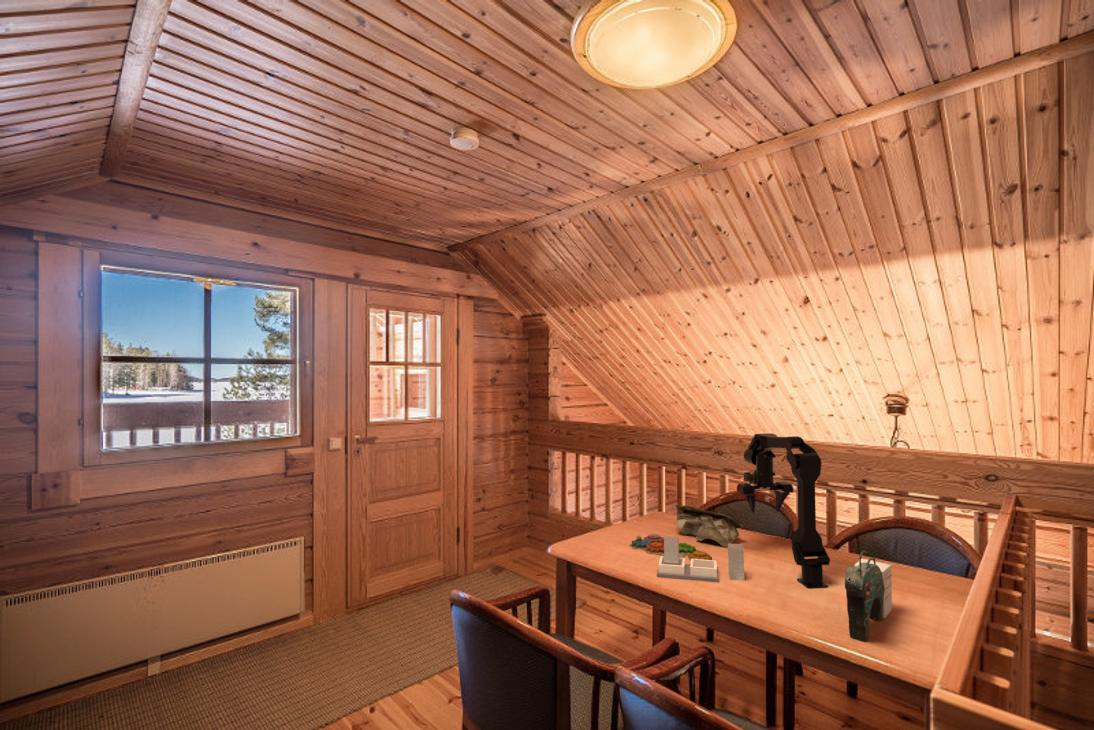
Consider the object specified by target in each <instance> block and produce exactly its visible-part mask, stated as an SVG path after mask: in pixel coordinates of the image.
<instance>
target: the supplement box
mask: <svg viewBox="0 0 1094 730" xmlns="http://www.w3.org/2000/svg"><path fill="white" fill-rule="evenodd" d="M868 560H869V559H866V558H861V563H864V562H866V563H867V562H868ZM869 564H874V561H873V560H870V563H869ZM858 565H859V560H858V561H857V562H856V563H855V564H854V566H853V567H857V566H858ZM876 565H877V566H878V567H879V568H880V570H881V573H882V577H883V582H884V588H885V591H884V599H883V615H882V619H886V617H888V616H889V615H890V613H891V612H892V610H893V589H892V588H893V585H892V564H889V563H884V562H880V561H876Z"/></svg>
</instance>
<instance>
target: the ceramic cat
mask: <svg viewBox="0 0 1094 730" xmlns="http://www.w3.org/2000/svg"><path fill="white" fill-rule="evenodd" d="M863 555H864V556H866V555H867V551H866V550H861V552H860V554H859V558H858V559H859V560H858V561H859V565H858V566H857V567H854V566H852V565H851V566H848V567H847V569H846V572H845V575H844V589H845V590H846V591H845V593H846V608H847V609H846V610H847V616H848V631H849V637H850V638H852V639H854V640H858V641H860V642H863V643H865V642H866V641H867V640H868V639H869V635H870V619H874V620H876V621H877V620H882V619H883V618H882V615H883V599H884V591H885V588H884V582H883V577H882V573H881V570H880V568H879V567H878V566H877V565H876V562H877V561H876V558H874V557H870V558H869V559H867V560H868V562H867V563H866V562H864V563H861V559H863V558H862V556H863ZM870 560H872V561H874V564H869V563H870Z"/></svg>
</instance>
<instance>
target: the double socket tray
mask: <svg viewBox="0 0 1094 730" xmlns="http://www.w3.org/2000/svg"><path fill="white" fill-rule="evenodd" d="M679 564H680V565H669V564H665V561H664V556H659V562H658V568H657V570H656V571H657V572H656V578H666V579H678V580H687V581H688V580H689V581H697V582H698V581H699V582H710V583H719V582H720V579H719V566H718V565H717V564H718V562H717V560H714V559H709V560H703V559H690V564H689V563H686V557H685V558H679Z"/></svg>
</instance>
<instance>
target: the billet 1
mask: <svg viewBox="0 0 1094 730" xmlns="http://www.w3.org/2000/svg"><path fill="white" fill-rule="evenodd" d="M663 538H664V561H665V564H669V565H680V564H679V544H680V536H672V535H671V536H670V535H665V536H664V537H663Z"/></svg>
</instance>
